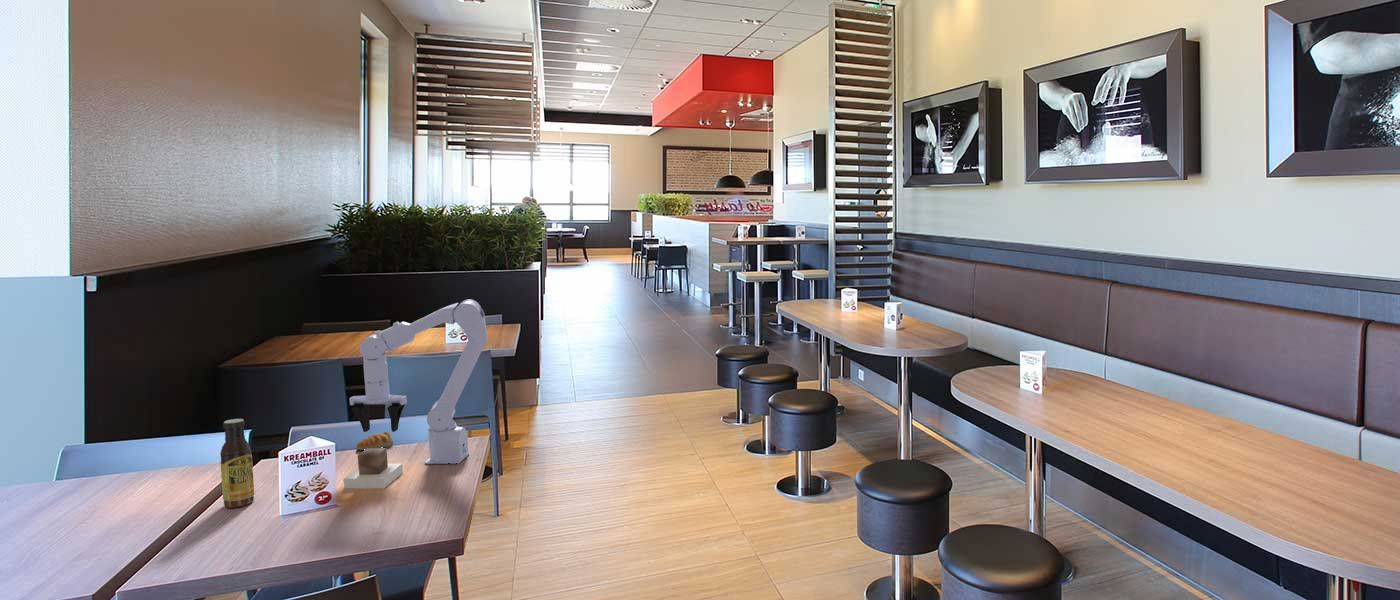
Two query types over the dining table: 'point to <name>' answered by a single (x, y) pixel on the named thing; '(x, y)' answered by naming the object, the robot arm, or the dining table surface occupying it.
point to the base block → (373, 478)
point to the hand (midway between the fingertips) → (380, 430)
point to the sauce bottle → (236, 466)
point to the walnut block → (372, 461)
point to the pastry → (376, 441)
